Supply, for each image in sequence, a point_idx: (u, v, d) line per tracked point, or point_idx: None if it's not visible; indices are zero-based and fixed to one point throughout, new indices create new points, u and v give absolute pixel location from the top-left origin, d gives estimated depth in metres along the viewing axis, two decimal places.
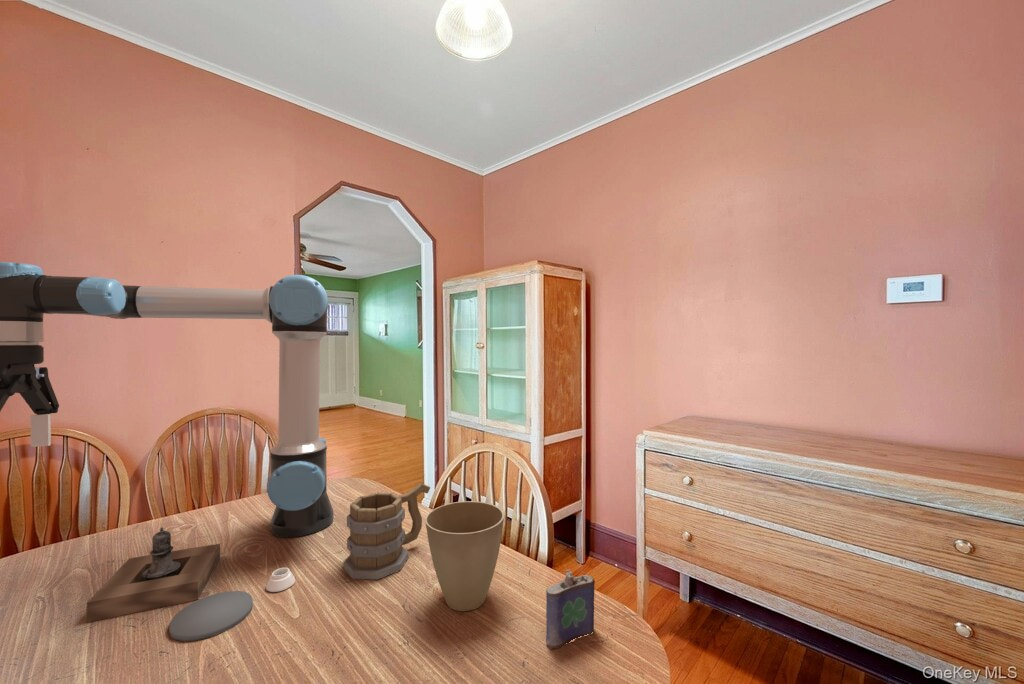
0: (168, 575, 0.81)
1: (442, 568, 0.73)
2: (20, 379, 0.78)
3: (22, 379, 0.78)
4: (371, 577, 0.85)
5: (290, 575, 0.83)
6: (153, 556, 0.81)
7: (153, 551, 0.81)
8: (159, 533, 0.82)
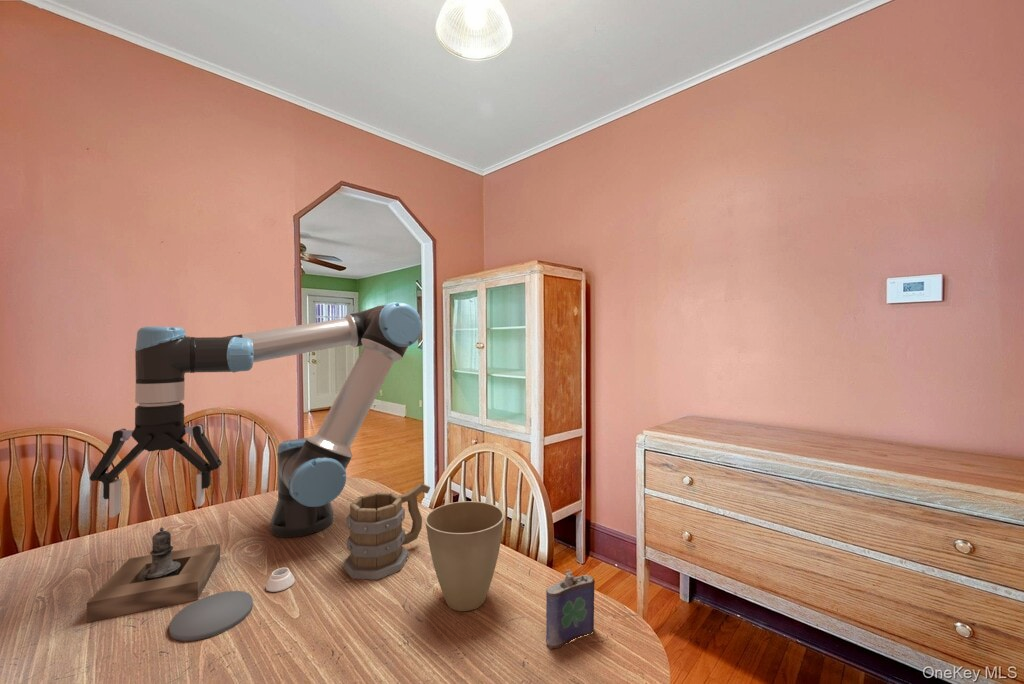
0: (168, 575, 0.81)
1: (442, 568, 0.73)
2: (144, 439, 0.80)
3: (147, 439, 0.80)
4: (371, 577, 0.85)
5: (290, 575, 0.83)
6: (153, 556, 0.81)
7: (153, 551, 0.81)
8: (159, 533, 0.82)
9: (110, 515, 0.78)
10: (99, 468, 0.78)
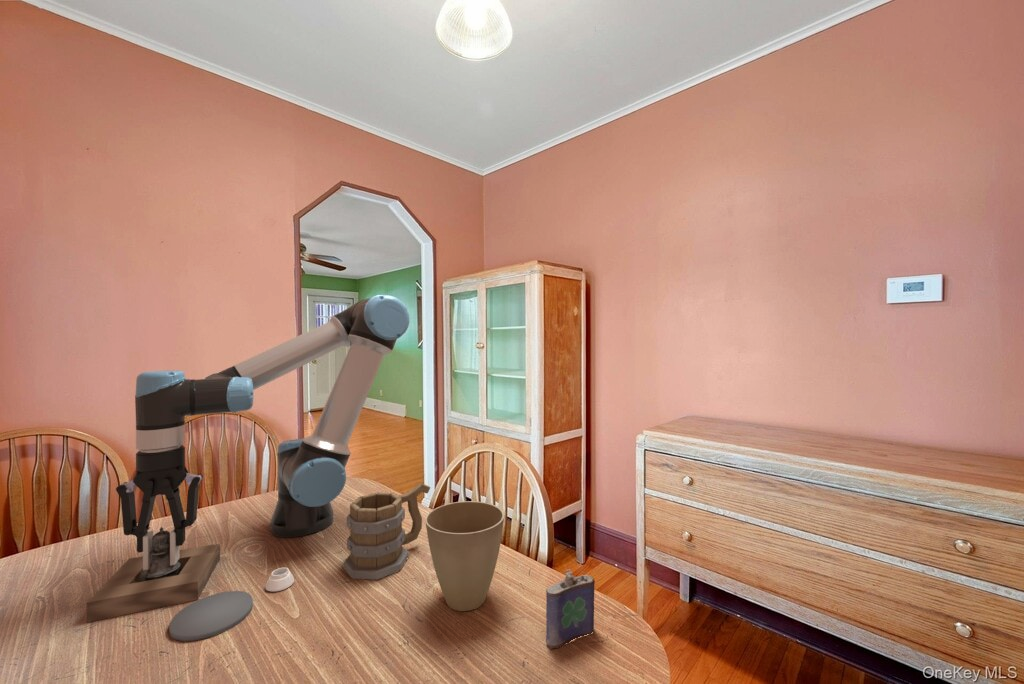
0: (168, 575, 0.81)
1: (442, 568, 0.73)
2: (146, 486, 0.80)
3: (149, 485, 0.80)
4: (371, 577, 0.85)
5: (289, 575, 0.83)
6: (153, 556, 0.81)
7: (153, 551, 0.81)
8: (159, 533, 0.82)
9: (144, 568, 0.80)
10: (126, 522, 0.79)
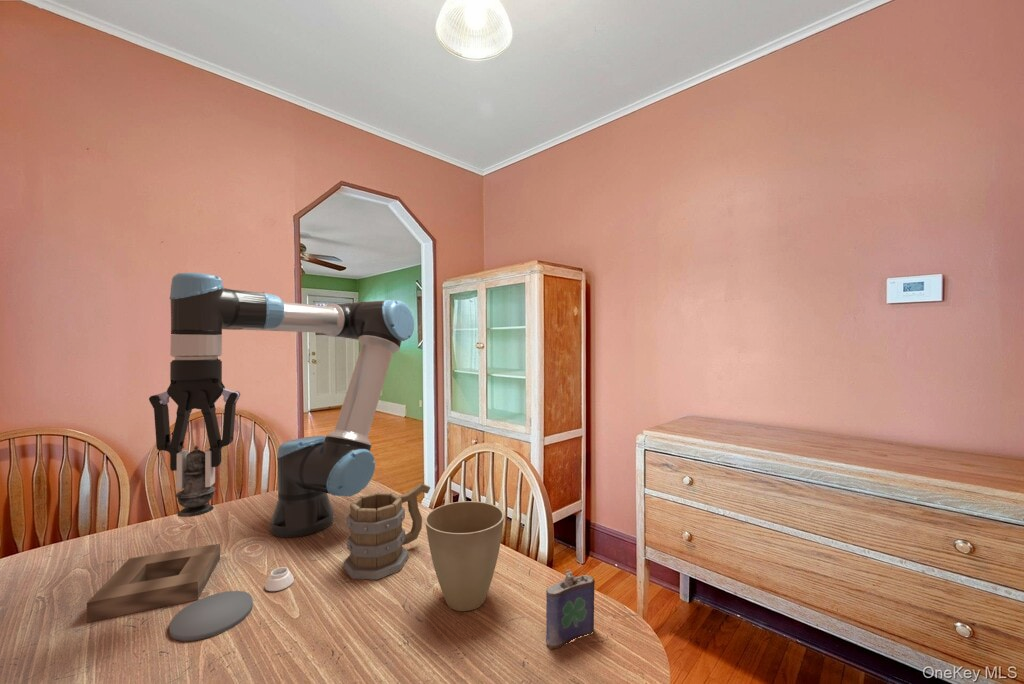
0: (203, 497, 0.74)
1: (442, 568, 0.73)
2: (181, 398, 0.73)
3: (184, 396, 0.73)
4: (371, 577, 0.85)
5: (289, 574, 0.83)
6: (187, 476, 0.74)
7: (187, 470, 0.74)
8: (193, 451, 0.75)
9: (177, 488, 0.73)
10: (159, 436, 0.72)
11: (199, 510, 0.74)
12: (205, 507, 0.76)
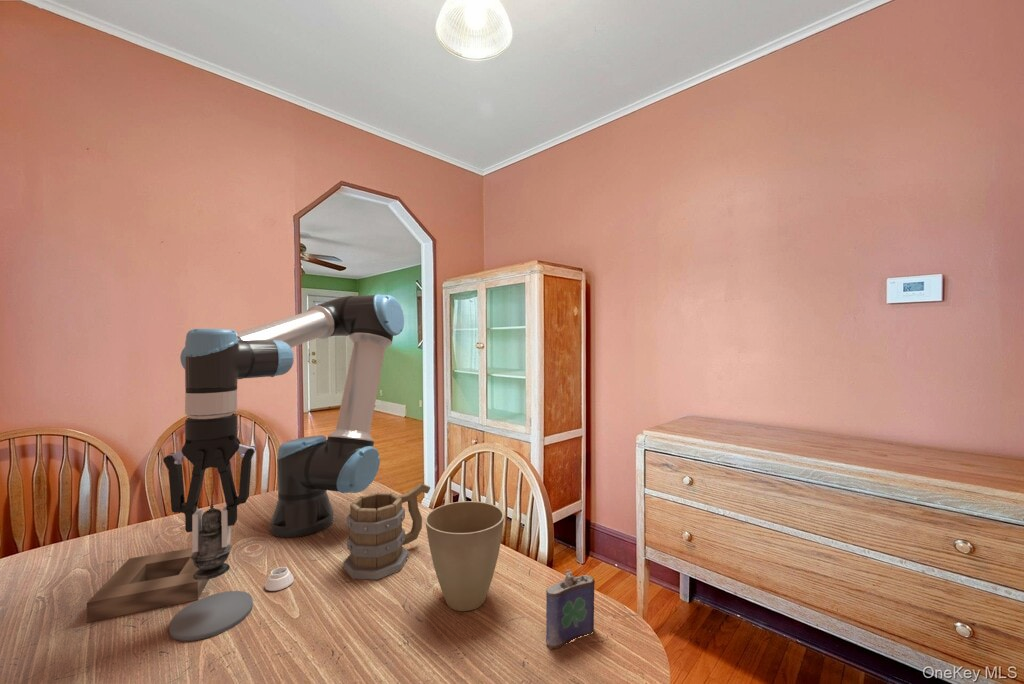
0: (220, 558, 0.72)
1: (442, 568, 0.73)
2: (197, 457, 0.71)
3: (200, 456, 0.71)
4: (371, 577, 0.85)
5: (289, 574, 0.83)
6: (203, 536, 0.72)
7: (203, 531, 0.72)
8: (209, 511, 0.73)
9: (193, 550, 0.71)
10: (174, 498, 0.70)
11: (216, 571, 0.72)
12: (221, 567, 0.74)
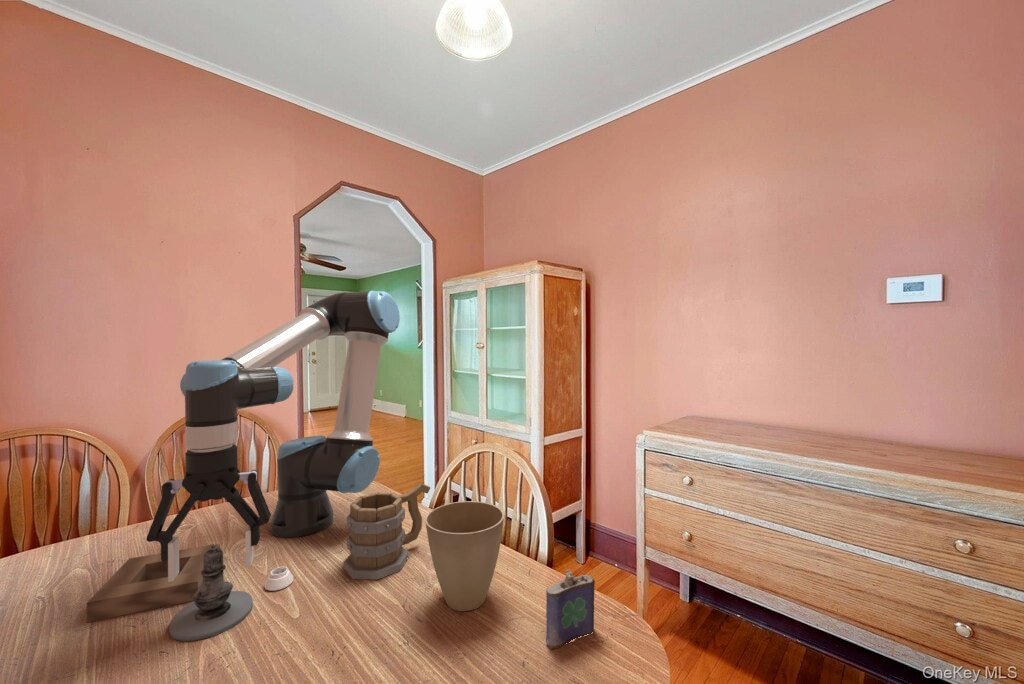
0: (221, 598, 0.72)
1: (442, 568, 0.73)
2: (196, 489, 0.71)
3: (199, 489, 0.71)
4: (371, 577, 0.85)
5: (288, 574, 0.83)
6: (205, 577, 0.72)
7: (204, 571, 0.72)
8: (211, 551, 0.73)
9: (169, 579, 0.70)
10: (154, 527, 0.69)
11: (217, 611, 0.72)
12: (222, 606, 0.74)
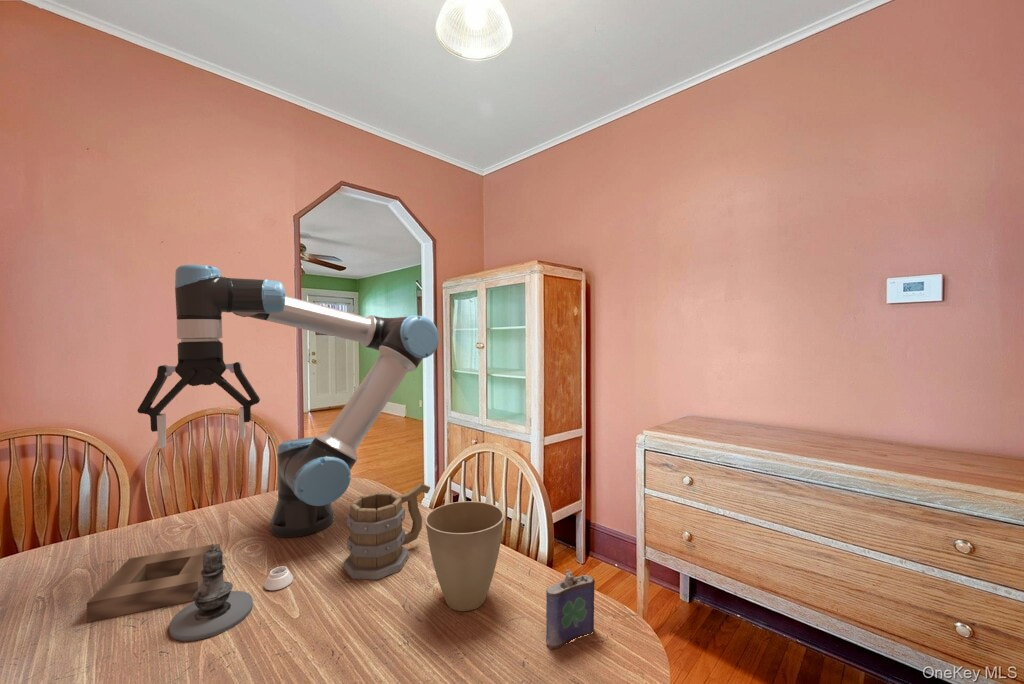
0: (221, 598, 0.72)
1: (442, 568, 0.73)
2: (188, 374, 0.83)
3: (191, 374, 0.83)
4: (371, 577, 0.85)
5: (288, 574, 0.84)
6: (204, 577, 0.72)
7: (204, 571, 0.72)
8: (210, 551, 0.73)
9: (159, 446, 0.81)
10: (146, 401, 0.80)
11: (217, 611, 0.72)
12: (222, 606, 0.74)
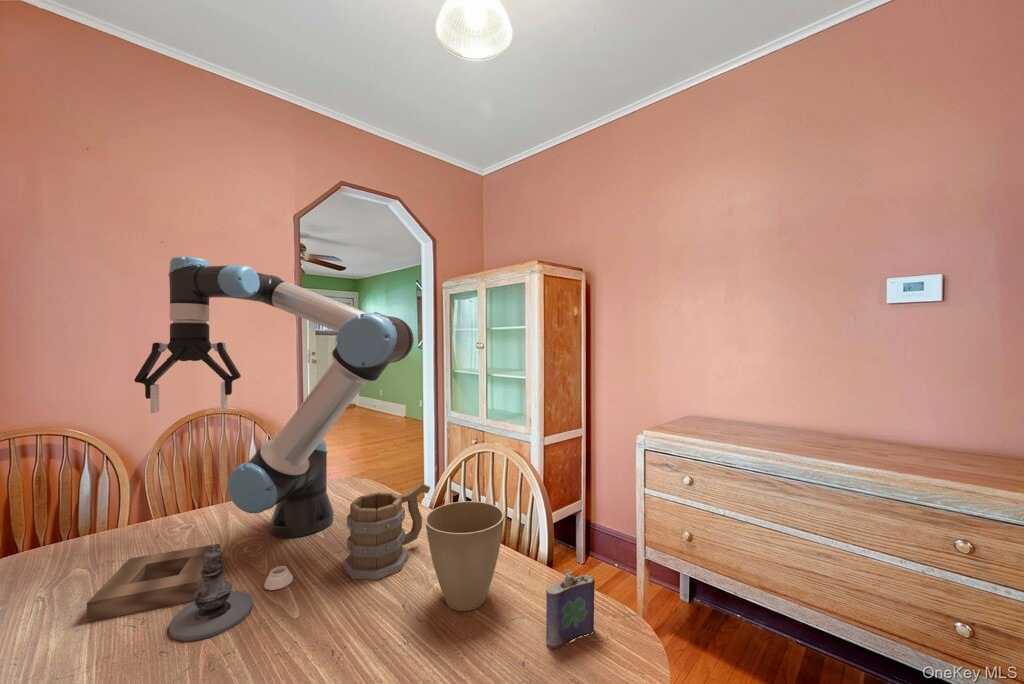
0: (221, 598, 0.72)
1: (442, 568, 0.73)
2: (177, 350, 0.96)
3: (180, 350, 0.97)
4: (371, 577, 0.85)
5: (288, 573, 0.84)
6: (204, 577, 0.72)
7: (204, 571, 0.72)
8: (210, 551, 0.73)
9: (151, 411, 0.95)
10: (142, 372, 0.94)
11: (217, 611, 0.72)
12: (222, 606, 0.74)
